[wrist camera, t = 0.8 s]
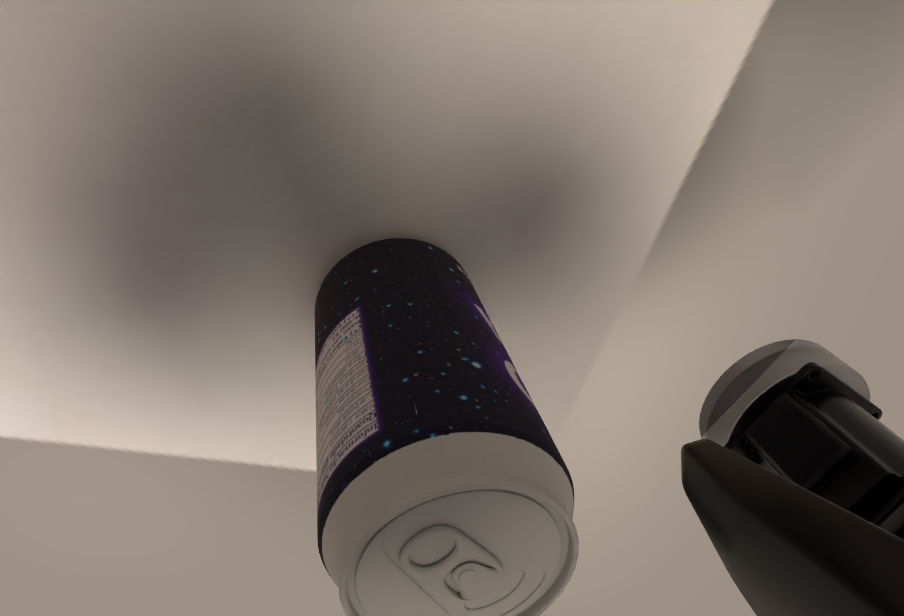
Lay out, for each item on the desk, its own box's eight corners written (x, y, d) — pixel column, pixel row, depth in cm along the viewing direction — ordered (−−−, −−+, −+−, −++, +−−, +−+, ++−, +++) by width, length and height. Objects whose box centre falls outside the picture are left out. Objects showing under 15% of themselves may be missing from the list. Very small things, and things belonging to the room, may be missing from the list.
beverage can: (388, 390, 24) (444, 696, 14) (280, 300, 22) (253, 600, 11) (497, 300, 23) (645, 558, 13) (400, 195, 21) (489, 416, 10)
